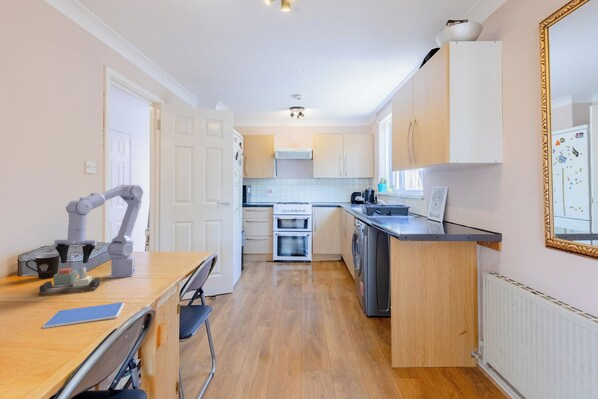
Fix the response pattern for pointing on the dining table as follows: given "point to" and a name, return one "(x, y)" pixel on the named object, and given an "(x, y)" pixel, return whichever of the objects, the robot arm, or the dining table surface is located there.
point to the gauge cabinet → (65, 278)
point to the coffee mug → (46, 265)
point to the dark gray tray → (67, 288)
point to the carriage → (82, 278)
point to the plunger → (65, 271)
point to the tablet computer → (84, 315)
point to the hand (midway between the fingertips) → (74, 262)
